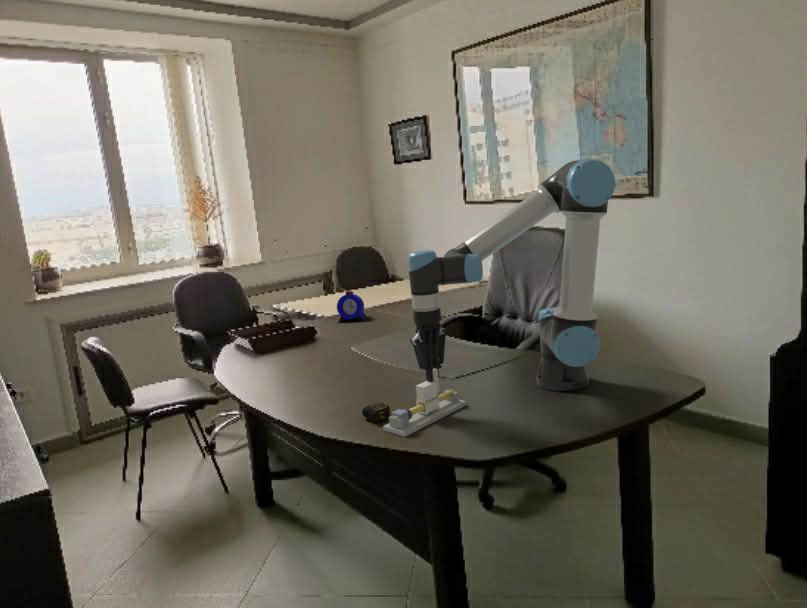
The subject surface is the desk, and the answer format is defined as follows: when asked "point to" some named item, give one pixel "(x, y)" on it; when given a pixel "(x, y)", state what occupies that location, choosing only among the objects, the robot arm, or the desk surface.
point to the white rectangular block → (427, 397)
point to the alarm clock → (350, 307)
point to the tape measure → (376, 411)
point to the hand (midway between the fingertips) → (434, 391)
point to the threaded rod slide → (422, 415)
